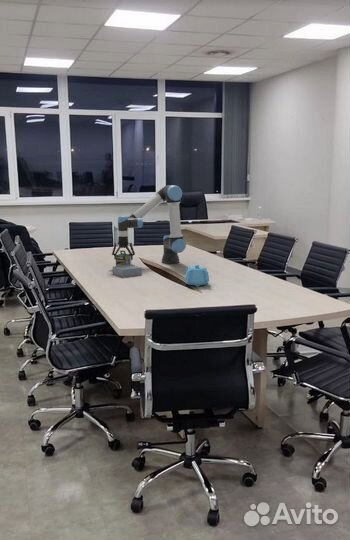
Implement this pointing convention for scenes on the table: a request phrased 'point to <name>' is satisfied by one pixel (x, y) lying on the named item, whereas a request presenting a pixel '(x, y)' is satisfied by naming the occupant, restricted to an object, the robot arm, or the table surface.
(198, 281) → the decorative pot
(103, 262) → the table surface
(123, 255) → the chalk box
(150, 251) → the table surface
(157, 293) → the table surface
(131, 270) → the grey base brick
